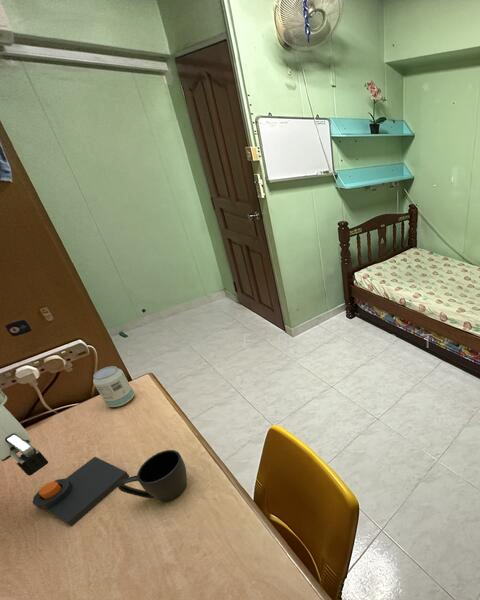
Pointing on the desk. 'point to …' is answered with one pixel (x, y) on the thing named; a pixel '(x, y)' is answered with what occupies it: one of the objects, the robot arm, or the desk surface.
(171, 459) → the mug
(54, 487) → the button
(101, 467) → the scale
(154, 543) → the desk surface
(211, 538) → the desk surface
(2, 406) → the robot arm
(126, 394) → the white supplement bottle
